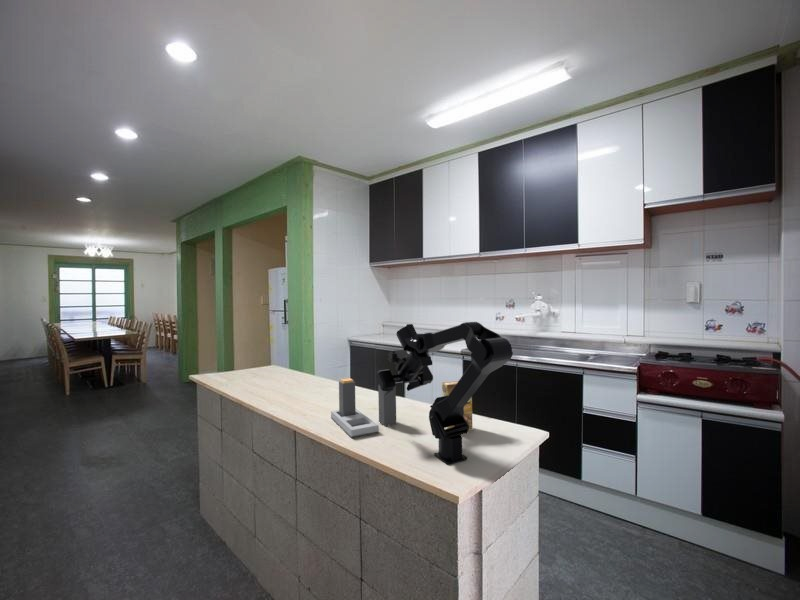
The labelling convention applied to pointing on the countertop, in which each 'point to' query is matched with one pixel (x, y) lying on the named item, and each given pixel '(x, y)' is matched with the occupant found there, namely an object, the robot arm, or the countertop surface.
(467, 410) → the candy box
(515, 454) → the countertop surface
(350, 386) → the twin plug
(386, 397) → the orange grey tall block
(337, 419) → the light grey recessed block
